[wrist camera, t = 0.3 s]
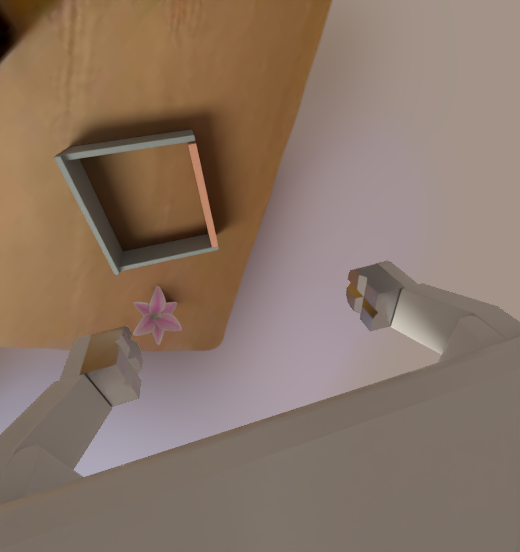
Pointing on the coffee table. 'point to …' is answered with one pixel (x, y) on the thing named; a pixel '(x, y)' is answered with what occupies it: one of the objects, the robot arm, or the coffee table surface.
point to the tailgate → (202, 191)
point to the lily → (156, 316)
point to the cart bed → (97, 216)
